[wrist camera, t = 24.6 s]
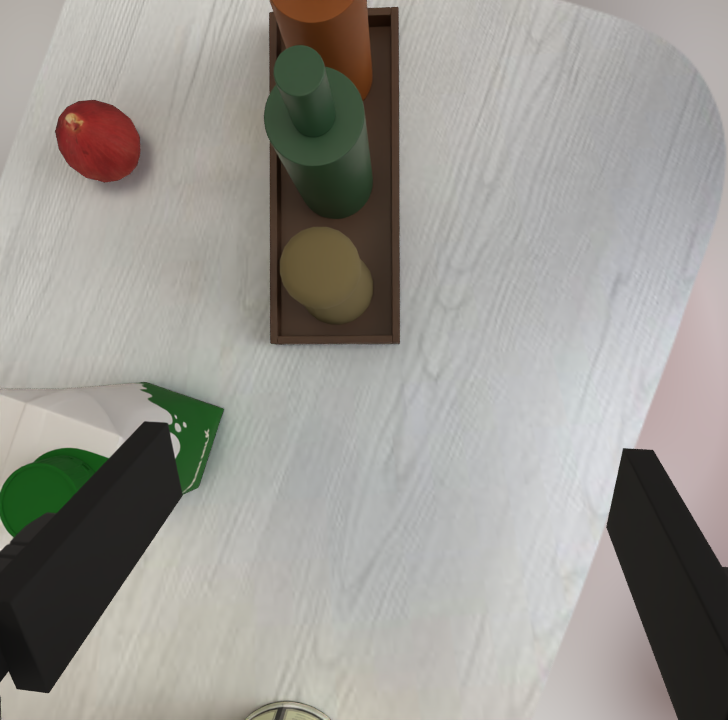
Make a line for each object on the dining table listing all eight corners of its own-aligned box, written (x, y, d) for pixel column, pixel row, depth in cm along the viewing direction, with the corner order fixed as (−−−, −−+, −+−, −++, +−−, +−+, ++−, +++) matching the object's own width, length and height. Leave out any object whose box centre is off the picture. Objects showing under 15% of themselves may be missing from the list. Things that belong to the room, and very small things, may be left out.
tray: (398, 23, 44) (398, 6, 42) (399, 343, 44) (399, 342, 42) (274, 28, 45) (269, 11, 43) (276, 344, 45) (270, 343, 43)
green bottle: (372, 144, 44) (358, 7, 27) (373, 218, 44) (358, 128, 27) (299, 146, 44) (239, 12, 27) (299, 220, 44) (239, 131, 27)
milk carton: (205, 501, 45) (56, 611, 25) (105, 466, 46) (-119, 547, 26) (238, 401, 45) (114, 432, 25) (137, 367, 46) (-64, 371, 26)
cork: (337, 234, 44) (317, 192, 33) (389, 288, 44) (386, 263, 33) (284, 287, 44) (247, 262, 33) (335, 340, 44) (314, 333, 33)
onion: (82, 183, 46) (16, 146, 38) (100, 117, 46) (38, 66, 38) (146, 202, 46) (93, 168, 38) (165, 135, 46) (116, 87, 38)
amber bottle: (372, 39, 44) (357, -164, 27) (372, 113, 44) (358, -43, 27) (298, 42, 44) (238, -156, 27) (299, 115, 44) (239, -37, 27)
